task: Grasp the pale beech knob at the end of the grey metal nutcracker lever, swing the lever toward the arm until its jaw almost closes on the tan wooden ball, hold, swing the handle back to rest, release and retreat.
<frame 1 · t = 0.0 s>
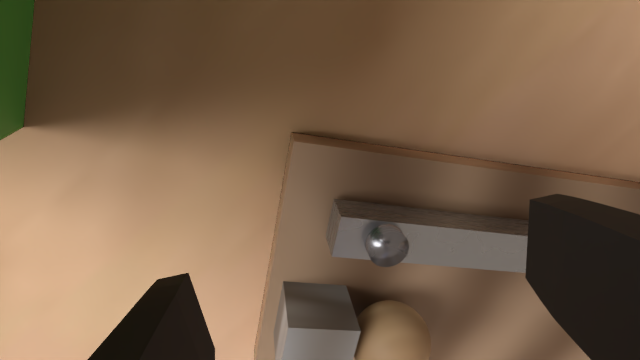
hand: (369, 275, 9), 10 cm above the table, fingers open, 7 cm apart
tan wooden ball: (379, 314, 21), point 1 cm above the table, touching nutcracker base
lever: (535, 271, 17), point 4 cm above the table, hinge at 0.0°
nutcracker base: (365, 205, 20), on the table
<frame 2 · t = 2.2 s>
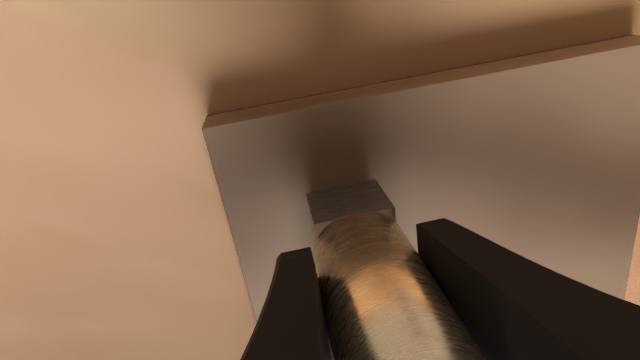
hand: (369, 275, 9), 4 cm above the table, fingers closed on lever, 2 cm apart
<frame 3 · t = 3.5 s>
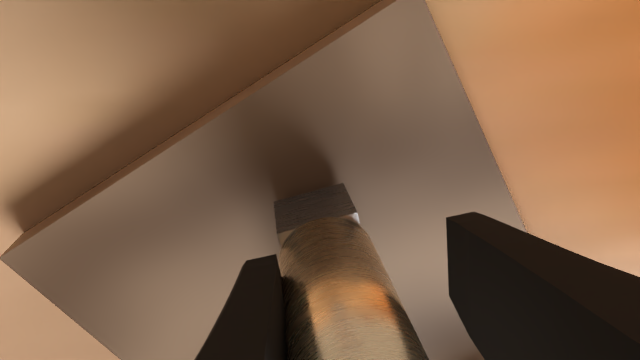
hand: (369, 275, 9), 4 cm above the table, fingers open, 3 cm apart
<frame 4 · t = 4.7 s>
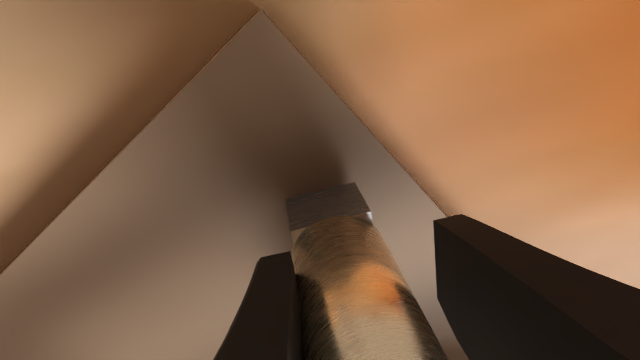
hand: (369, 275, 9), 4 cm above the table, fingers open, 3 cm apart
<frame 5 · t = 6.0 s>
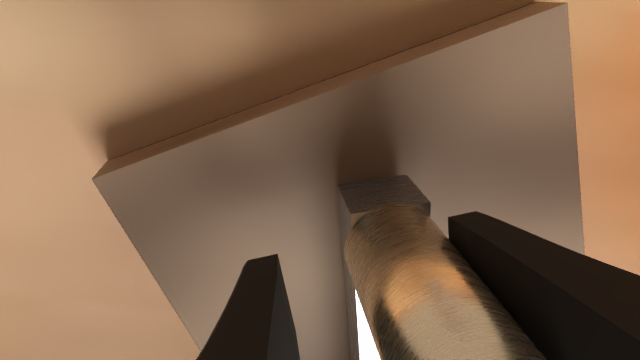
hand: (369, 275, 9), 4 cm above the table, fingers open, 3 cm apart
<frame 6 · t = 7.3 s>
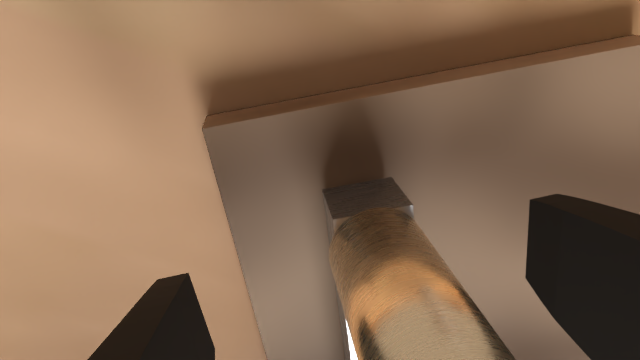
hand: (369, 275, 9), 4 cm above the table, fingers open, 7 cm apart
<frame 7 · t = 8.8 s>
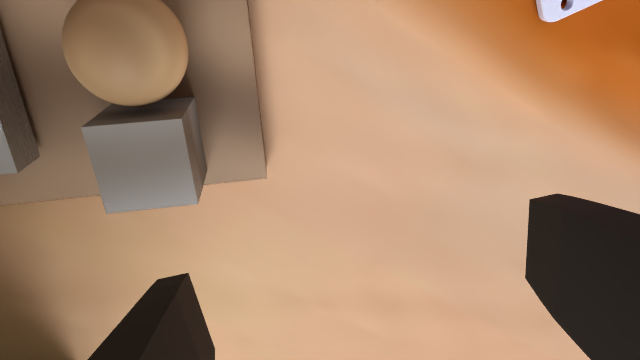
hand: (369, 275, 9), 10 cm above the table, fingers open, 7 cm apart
tan wooden ball: (142, 42, 15), point 1 cm above the table, touching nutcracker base
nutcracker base: (19, 94, 16), on the table
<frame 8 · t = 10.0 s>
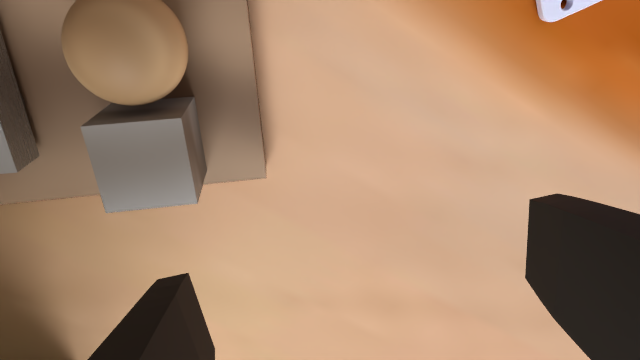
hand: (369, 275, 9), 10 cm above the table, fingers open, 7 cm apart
tan wooden ball: (142, 41, 15), point 1 cm above the table, touching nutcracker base
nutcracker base: (18, 93, 16), on the table
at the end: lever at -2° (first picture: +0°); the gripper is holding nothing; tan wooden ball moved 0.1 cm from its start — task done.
